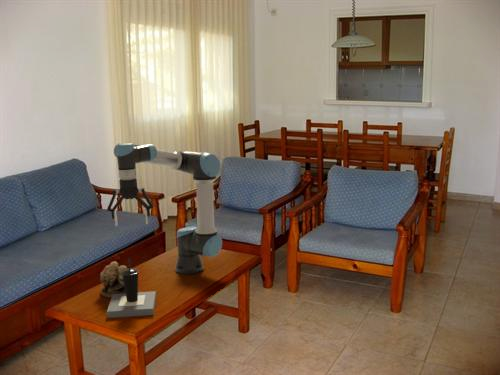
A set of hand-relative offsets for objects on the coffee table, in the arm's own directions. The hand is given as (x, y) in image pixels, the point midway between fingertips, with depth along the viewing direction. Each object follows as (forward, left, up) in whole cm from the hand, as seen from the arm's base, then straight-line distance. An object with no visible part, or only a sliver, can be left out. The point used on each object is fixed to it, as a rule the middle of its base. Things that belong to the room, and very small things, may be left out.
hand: (131, 224), depth 248 cm
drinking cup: (+2, +4, -35) cm, 35 cm away
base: (+2, +4, -38) cm, 38 cm away
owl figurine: (+11, -13, -38) cm, 42 cm away
